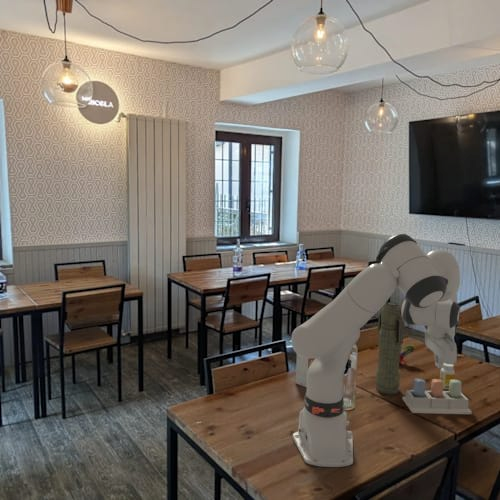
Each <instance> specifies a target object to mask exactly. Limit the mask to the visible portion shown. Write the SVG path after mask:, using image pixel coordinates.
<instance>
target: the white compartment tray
mask: <svg viewBox="0 0 500 500" xmlns="http://www.w3.org/2000/svg"><path fill="white" fill-rule="evenodd" d="M402 401H403V402H404V404H405V405H406V406H407V407H408V409H409V411H410V412H411V414H442V415H472V413H473V412H472V409H470V408H469V401H470V400H469V398H467V396H466V395H464V394H463V392H461V398H450V397H449V390H443V398H432V397H431V390H425V397H414V396H413V389H412V390H411V389H410V390H409V389H406V390H405V396H402Z"/></svg>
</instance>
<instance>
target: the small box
mask: <svg viewBox="0 0 500 500" xmlns="http://www.w3.org/2000/svg"><path fill="white" fill-rule="evenodd" d="M314 359H315V358H302V357H300V356H299V355H298V354H297V353H296V361H295V362H296V364H295V368H296V369H295V384H297V385H299V386H301V387H305V388H307V372H308V369H309V367H310V365H311V364H312V363H313V361H314Z"/></svg>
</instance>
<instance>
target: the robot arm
mask: <svg viewBox="0 0 500 500" xmlns="http://www.w3.org/2000/svg"><path fill="white" fill-rule="evenodd" d="M460 284H461V270H460V266H459V263H458V261H457V259H456V257H455V256H454V255H453V254H452V253H451V251H448V250H444V249H433V250H431V251H429V252H428V253H426V252H425V251H424V250H423V249H422V248H421V247H420V246H419V245H418V243H417V240H415V239H414V238H412V236H410V235H409V234H406V233H400V234H394V235H392V236H391V237H388V238H387V239H386V240H385V241H384V242H383V243H382V244H381V247H380V248H379V251H378V253H377V256H376V258H375V263H372V264H370V265H368V266H367V267H366V268H364V269H363V270H362V271H360V272H359V273H358V274H356V276H354V277H353V278H352V280H350V282H349V283H348V284H347V285H346V286H345V287H344V289H342V290H341V291H340V292H339V294H338V295H337V296H336V297H335V298H334V299H332V300H331V302H330V303H329V302H328V304H327V305H325V306H324V307H323V308H321V309H320V310H319V311H317V312H316V313H315V314H314V315H312V317H310V318H309V319H307V320H306V321H304V323H302V324H299V326H296V328H294V330H293V331H292V333H291V338H290V339H291V346H292V348H293V351H294V352H295V353H296V355H297V354H298V355H299V356H300V357H302V358H315V359H314V361H313V363H312V364H311V365H310V367H309V369H308V372H307V387H306V391H305V394H304V398H303V399H304V407H303V408H302V409H301V410H300V411H299V417H298V427H297V428H298V429H297V431H295V432H294V433H292V439H293V441H294V443H295V445H296V448H297V449H298V451H299V453H300V455H301V456H302V458H303V461H304V462H305V463H306V464H308V465H312V466H315V467H316V466H317V467H324V468H325V467H326V468H342V467H349V466H351V465H353V464H354V442H353V441H354V438H353V434H352V433H353V432H352V430H347V427H350V421H347V415H348V414H347V412H346V411H345V410H344V408H345V407H344V406H345V401H344V396H343V388H344V387H343V386H344V374H345V371H346V367H347V363H348V360H349V358H350V355H351V352H352V350H353V347H354V346H355V344H356V343H357V342H358V341H359V339H360V336H361V329H362V327H364V325H366V324H367V323H368V321H369V320H371V319H372V318H373V317H374V315H376V314H377V313H378V312H379V311H380V310H382V308H383V305H384V304H385V303H387V302H389V299H390V298H391V297H392V295H393V294H394V292H395V290H396V289H399V291H401V293H402V294H403V295H404V296H405V298H404V300H403V303H402V304H401V313H402V317H401V318H402V319H403V320H404V323H407V324H408V325H411V326H416V325H419V326H423V327H424V329H425V330H424V343H425V346H426V348H428V349H429V350H430V351H431V352H433V356H434V365H435V366H436V367H437V369H442V368H443V364H444V363H446V364H453V365H455V364H456V363H457V359H458V353H457V352H458V348H457V343H456V341H454V337H455V335H456V326H458V324H459V323H460V309H461V306H460V305H459V303H458V298H457V296H458V295H457V293H458V291H459V288H460Z"/></svg>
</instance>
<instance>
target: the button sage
mask: <svg viewBox="0 0 500 500" xmlns="http://www.w3.org/2000/svg"><path fill="white" fill-rule="evenodd" d="M448 391H449V397H450V398H461V393H462V381H461V380H460V379H459V380H458V379H452V380H450V383H449V390H448Z"/></svg>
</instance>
